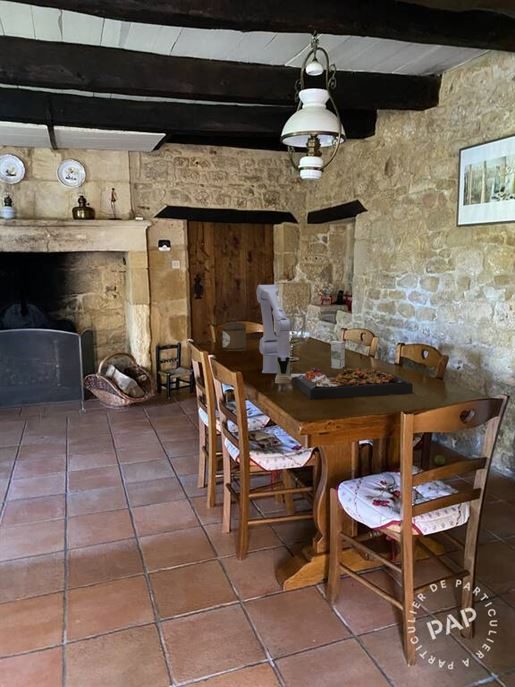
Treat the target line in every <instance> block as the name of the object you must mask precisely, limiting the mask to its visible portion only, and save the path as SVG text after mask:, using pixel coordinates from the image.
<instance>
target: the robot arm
mask: <svg viewBox="0 0 515 687" xmlns="http://www.w3.org/2000/svg"><path fill="white" fill-rule="evenodd" d="M255 291H256V292H255V293H256V299H257V302H258V303H259V304H260V310H261V318H262V320H261V321H262V329H263V336H262V337H261V338H260V340H259V346H258V349H259V352H260V353H261V355H262V358H263V359H262V371H261V373H262V374H277V361H278V363H279V365H280V370H281V374H286V370H287V365H288V362H289V361H290V356H291V354H290V351H291V350H290V349H291V348H290V341H291V340H290V332H291V331H292V328H293V325H292V324H293V323H292V321H291V318H289V317H287V315H286V313H285V309H284V308H283V307H281V305H280V302H279V298H278V296H279V287H278V285H277V284H258V285H257V288H256V290H255ZM273 320H274V322H275V324H274V323H273ZM273 324H274V325H273ZM274 326H275V332H276V335H275V332H274Z"/></svg>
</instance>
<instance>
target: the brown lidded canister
mask: <svg viewBox="0 0 515 687" xmlns="http://www.w3.org/2000/svg"><path fill="white" fill-rule="evenodd" d="M230 320H231V321H230V323H223V324H222V326H221V328H222V329H221V330H222V342H221V343H222V350H223V349H224V350H227V351H243V350H246V351H247V330H246V328H247V326H246V323H241V322H240V323H239V322H238V321H237V318H235V317H233V318H231V319H230Z"/></svg>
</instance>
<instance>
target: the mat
mask: <svg viewBox="0 0 515 687" xmlns="http://www.w3.org/2000/svg"><path fill="white" fill-rule="evenodd" d="M290 375H291V379H292V378H293V379H294V377H297V376H300V375H306V373H290Z"/></svg>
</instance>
